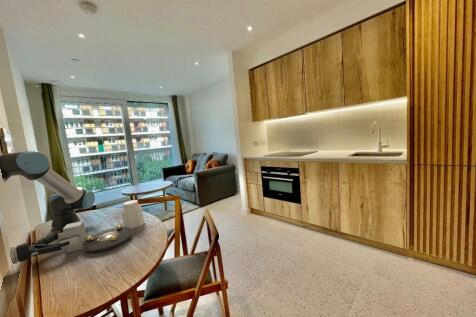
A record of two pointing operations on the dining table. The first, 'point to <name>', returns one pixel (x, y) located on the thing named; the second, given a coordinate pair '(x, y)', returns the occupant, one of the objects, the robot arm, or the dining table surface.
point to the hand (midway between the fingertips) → (76, 235)
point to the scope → (66, 220)
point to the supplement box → (74, 231)
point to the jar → (132, 214)
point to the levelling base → (107, 239)
